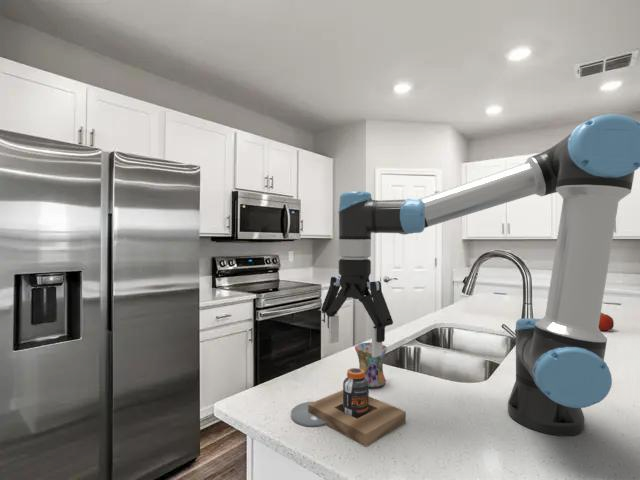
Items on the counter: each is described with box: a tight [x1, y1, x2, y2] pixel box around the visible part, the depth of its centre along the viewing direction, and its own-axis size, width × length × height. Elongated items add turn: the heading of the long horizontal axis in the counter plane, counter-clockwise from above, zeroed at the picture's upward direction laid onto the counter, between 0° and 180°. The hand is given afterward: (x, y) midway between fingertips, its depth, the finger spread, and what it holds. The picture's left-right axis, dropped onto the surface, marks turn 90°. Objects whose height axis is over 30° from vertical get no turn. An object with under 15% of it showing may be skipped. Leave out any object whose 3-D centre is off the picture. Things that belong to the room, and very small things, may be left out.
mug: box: [354, 342, 388, 388], centre depth 106 cm, size 12×9×11 cm
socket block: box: [308, 389, 407, 447], centre depth 84 cm, size 18×14×2 cm
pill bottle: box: [342, 367, 370, 418], centre depth 84 cm, size 6×6×11 cm
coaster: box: [290, 401, 328, 428], centre depth 86 cm, size 11×11×1 cm
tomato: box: [598, 312, 615, 332], centre depth 163 cm, size 9×9×8 cm
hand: (354, 348), depth 84 cm, fingers open, 13 cm apart
